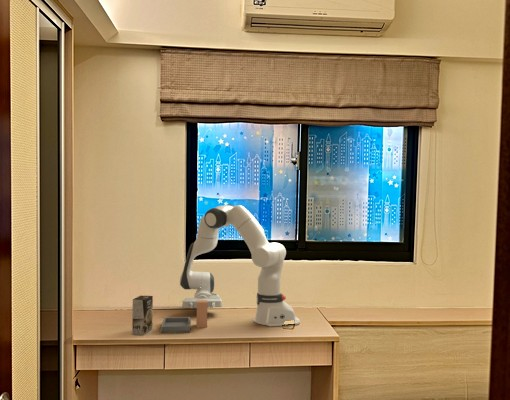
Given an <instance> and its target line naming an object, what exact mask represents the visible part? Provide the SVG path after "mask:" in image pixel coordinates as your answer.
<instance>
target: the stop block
mask: <svg viewBox="0 0 510 400" xmlns="http://www.w3.org/2000/svg"><path fill="white" fill-rule="evenodd" d="M196 328H208V308H207V300H197V308H196Z"/></svg>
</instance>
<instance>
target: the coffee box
mask: <svg viewBox="0 0 510 400" xmlns="http://www.w3.org/2000/svg"><path fill="white" fill-rule="evenodd" d="M153 297H154V296H153V295H139V296H136V297H135V298H133V299H132V321H131V322H132V331H131V334H132V335H137V336H139V335H140V336H146V335H147V334H148V333H150V332H152V331H153V328H154V327H153V324H154V323H153V319H154V318H153V316H154V315H153V314H154V313H153V305H154V304H153V301H154V300H153V299H154V298H153Z"/></svg>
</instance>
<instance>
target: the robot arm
mask: <svg viewBox="0 0 510 400" xmlns="http://www.w3.org/2000/svg"><path fill="white" fill-rule="evenodd" d="M230 225H231V226H232V227H233V228H234V229H235V230H236V231H237V233H238V234H239V235H240V237H241V239H243V241H244V242H245V244H246V245H247V247H248V249H249V251H250V254H251V261H252V263H253V264H254V265H255V266H257V267H258V268H259V267H260V268H261V269H260V272H259V274H258V277H257V293H256V312H255V317H254V320H253V322H254V323H255V324H258V325H262V326H267V327H281V326H282V325H283V324H284V322H285V321H289V320H294V321H295V322H294V324H295V325H294V326H296V325H299V324H300V321H301V320H300V319H299V318H298V317H297V316H296V313H295V310H294V308H293V307H292V306H291V305H290V304H289V303H287V302H286V301H285V300H286V298H287V297H286V296H285V294H283V293H281V278H282V277H281V275H282V271H283V267H284V260H285V258H286V255H287V250H286V248H285V246H284V245H283V244H281V243H279V242H269V241H268V239H267V237H266V234H265V230H264V228H263V227H262V226H261V224H260V223H259V222H258V220H257V219H256V218H255V217H254V215H253V214H252V213H251V212H250V211H249V210H248V209H247V208H245V206H243V205H241V204H238V205H234V204H225V205H218V206H216V207H212V208H210V209H208V210H207V211H206V212H205V214H204V215H203V216H202V217H201V218H200V220H199V224H198V229H197V237H196V239H195V241H194V242H192V243H191V244H190V246H189V248H188V252H187V256H186V259H185V262H184V265H183V270H182V272H181V274H180V276H179V285H180V287H182V289H184V290H196V291H195V292H196V293H194V296H193V297H187V298H186V297H185V298H183V300H182V308H183V309H188V308H189V309H197V300H207V309H209V308H210V309H214V308H222V307H223V300H222V298H221V296H219V294H217V293H213V292H214V290H215V277H214V275H213V274H212V273H211V272H209V271H208V272H207V271H193V270H192V267H193V262H194V259H196V257H197V256H199V255H202V254H206V253H210V252H211V251H213V250H214V249H215V248H216V247H217V245H218V240H219V231H220V229H221V228H225V227H226V228H227V227H228V226H230ZM201 276H202V277H201ZM200 287H201V288H200Z"/></svg>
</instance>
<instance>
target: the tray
mask: <svg viewBox="0 0 510 400" xmlns="http://www.w3.org/2000/svg"><path fill="white" fill-rule="evenodd" d="M191 318H192V317H190V316H176V317H175V316H173V317H171V316H169V317H167V316H165V317H163V319H162V323H161V325H160V334H185V333H187V334H188V333H189V334H190V333H191V332H190V331H191V324H192V322H191Z"/></svg>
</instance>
